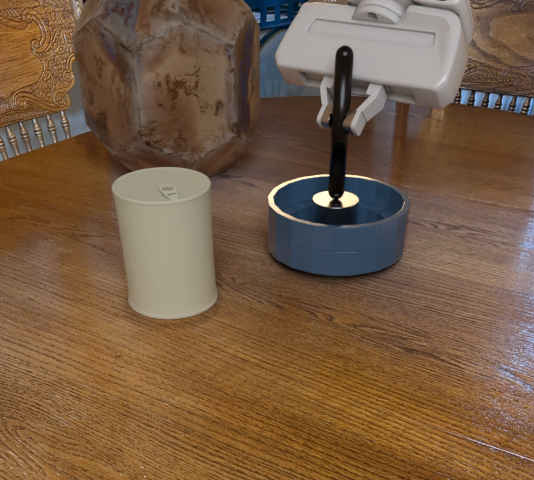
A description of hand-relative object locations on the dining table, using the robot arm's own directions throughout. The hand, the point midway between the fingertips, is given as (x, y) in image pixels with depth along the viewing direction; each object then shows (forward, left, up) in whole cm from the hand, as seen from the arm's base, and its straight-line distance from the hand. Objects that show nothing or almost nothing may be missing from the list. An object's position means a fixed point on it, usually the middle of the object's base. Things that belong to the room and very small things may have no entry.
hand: (337, 129), depth 72 cm
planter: (+19, -28, -13) cm, 36 cm away
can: (+18, +11, -13) cm, 24 cm away
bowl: (0, +1, -13) cm, 13 cm away
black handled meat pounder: (0, -1, -10) cm, 10 cm away
